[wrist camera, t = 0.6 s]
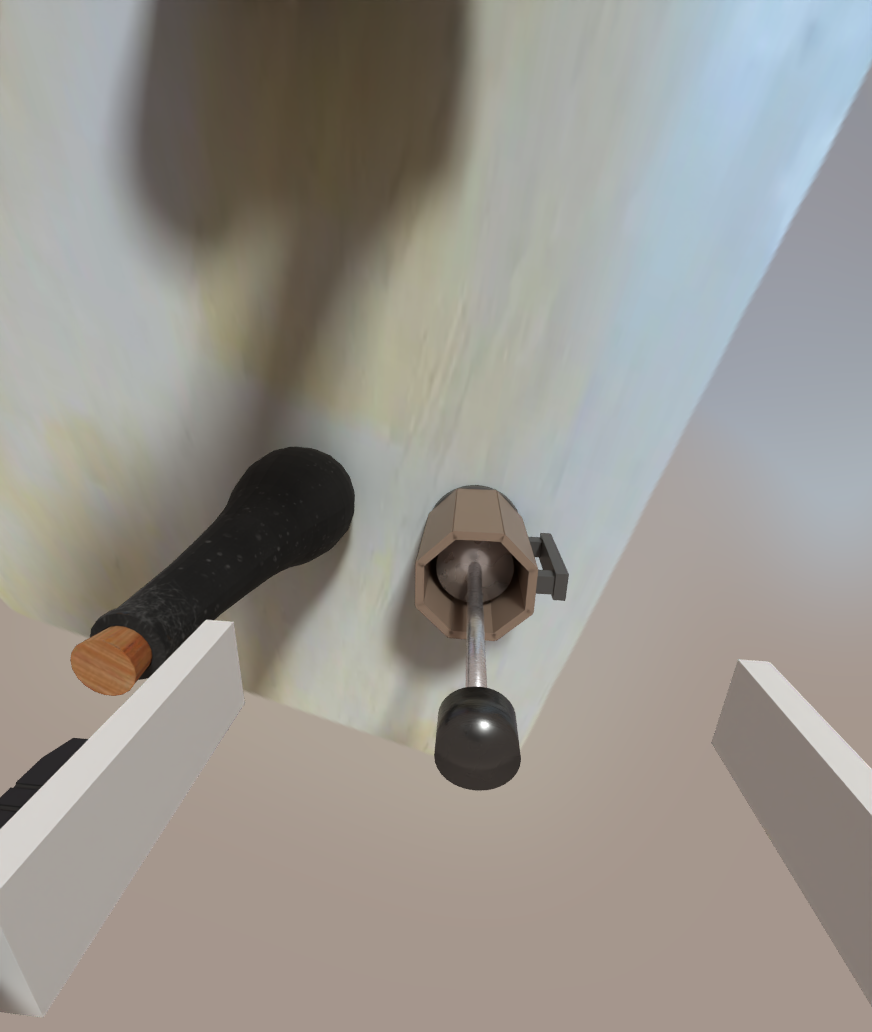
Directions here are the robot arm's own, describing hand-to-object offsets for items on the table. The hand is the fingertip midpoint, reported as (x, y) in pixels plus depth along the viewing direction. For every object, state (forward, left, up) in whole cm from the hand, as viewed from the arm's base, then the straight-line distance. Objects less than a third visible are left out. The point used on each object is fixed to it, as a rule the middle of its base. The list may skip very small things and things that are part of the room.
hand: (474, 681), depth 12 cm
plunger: (+9, +1, -27) cm, 29 cm away
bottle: (+5, -16, -36) cm, 40 cm away
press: (+9, +2, -36) cm, 37 cm away
